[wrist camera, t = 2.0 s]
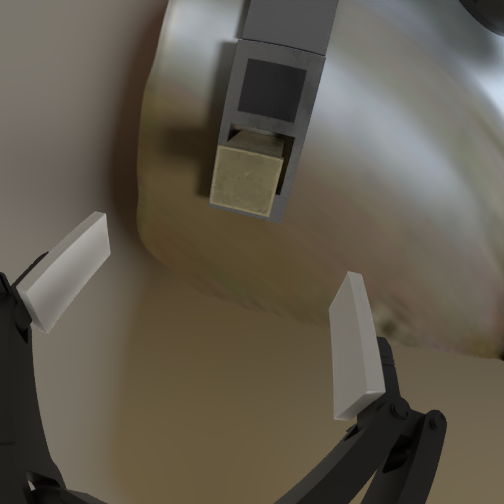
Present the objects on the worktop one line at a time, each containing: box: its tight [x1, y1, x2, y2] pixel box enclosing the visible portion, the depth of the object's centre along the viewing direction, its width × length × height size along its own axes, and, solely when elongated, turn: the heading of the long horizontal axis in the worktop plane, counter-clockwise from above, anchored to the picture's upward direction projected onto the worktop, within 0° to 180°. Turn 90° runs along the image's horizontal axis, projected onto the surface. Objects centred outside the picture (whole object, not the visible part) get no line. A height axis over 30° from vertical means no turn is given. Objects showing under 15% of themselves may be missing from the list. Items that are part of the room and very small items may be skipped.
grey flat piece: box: [209, 40, 326, 224], centre depth 28 cm, size 20×9×3 cm, turn 169°
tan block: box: [210, 130, 285, 217], centre depth 27 cm, size 5×5×10 cm
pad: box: [242, 0, 338, 56], centre depth 20 cm, size 9×9×1 cm
